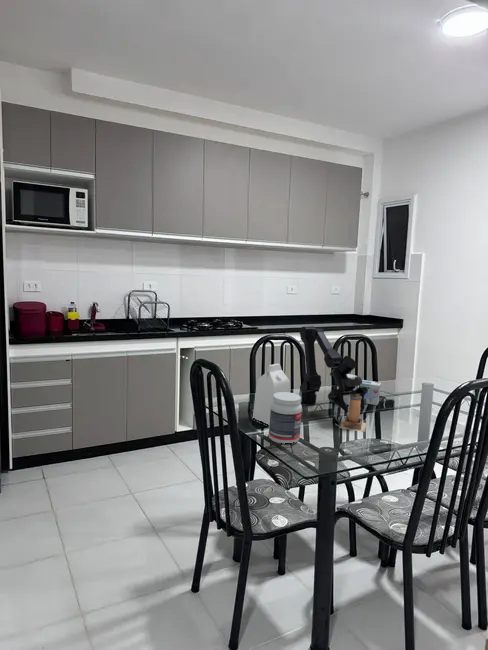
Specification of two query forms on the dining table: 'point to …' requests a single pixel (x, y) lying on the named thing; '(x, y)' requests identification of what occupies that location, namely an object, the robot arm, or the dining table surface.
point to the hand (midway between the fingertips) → (355, 410)
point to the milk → (269, 391)
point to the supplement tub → (285, 418)
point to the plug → (354, 408)
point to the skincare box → (347, 397)
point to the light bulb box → (371, 392)
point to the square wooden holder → (353, 425)
